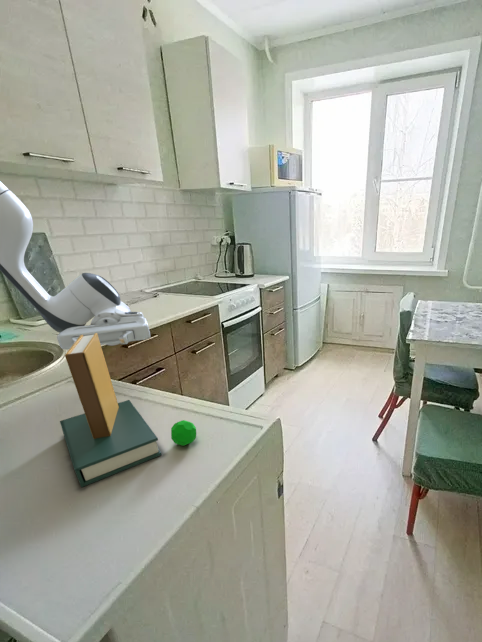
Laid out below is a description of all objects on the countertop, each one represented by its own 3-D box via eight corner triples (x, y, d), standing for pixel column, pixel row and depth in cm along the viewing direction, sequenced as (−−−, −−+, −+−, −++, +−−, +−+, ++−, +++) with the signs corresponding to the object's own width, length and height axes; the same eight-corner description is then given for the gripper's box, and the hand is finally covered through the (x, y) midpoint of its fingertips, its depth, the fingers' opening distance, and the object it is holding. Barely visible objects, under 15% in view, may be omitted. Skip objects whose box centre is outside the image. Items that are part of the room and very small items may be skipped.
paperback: (104, 409, 77) (80, 334, 70) (118, 406, 78) (97, 332, 70) (93, 439, 67) (64, 355, 59) (110, 435, 67) (84, 352, 60)
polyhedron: (178, 453, 68) (173, 432, 66) (169, 441, 72) (164, 422, 70) (202, 443, 71) (198, 423, 69) (192, 433, 74) (188, 413, 72)
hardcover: (65, 436, 75) (59, 420, 73) (133, 414, 82) (129, 399, 81) (81, 487, 61) (74, 469, 59) (161, 455, 68) (157, 437, 66)
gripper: (62, 320, 88) (44, 336, 76) (148, 311, 93) (144, 324, 81) (70, 344, 91) (54, 363, 79) (153, 334, 95) (150, 350, 83)
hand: (101, 343), depth 80 cm, fingers open, 8 cm apart
